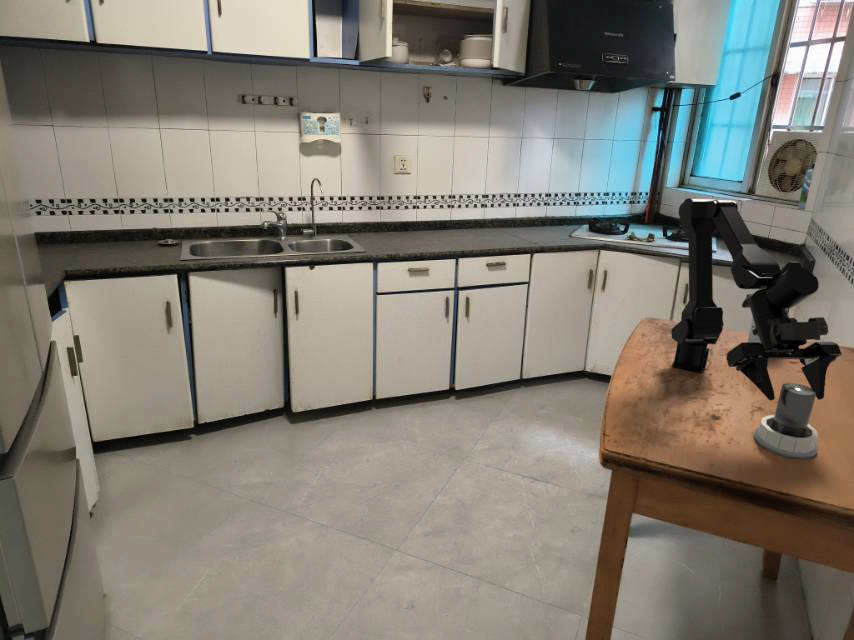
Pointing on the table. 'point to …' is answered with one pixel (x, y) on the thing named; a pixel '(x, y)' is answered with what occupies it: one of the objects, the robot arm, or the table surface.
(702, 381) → the table surface
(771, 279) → the robot arm
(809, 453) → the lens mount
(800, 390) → the lens
